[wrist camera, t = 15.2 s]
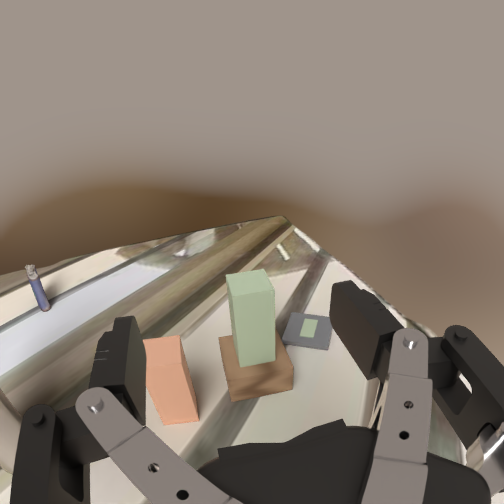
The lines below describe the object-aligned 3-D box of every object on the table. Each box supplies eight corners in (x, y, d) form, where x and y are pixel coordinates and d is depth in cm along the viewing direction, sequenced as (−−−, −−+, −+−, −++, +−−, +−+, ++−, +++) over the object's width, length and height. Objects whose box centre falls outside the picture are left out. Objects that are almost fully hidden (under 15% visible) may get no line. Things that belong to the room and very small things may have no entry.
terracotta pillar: (164, 425, 38) (138, 368, 33) (162, 398, 43) (141, 340, 37) (199, 420, 39) (181, 363, 34) (195, 394, 44) (179, 335, 38)
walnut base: (231, 401, 42) (227, 380, 40) (222, 359, 50) (218, 337, 48) (292, 389, 44) (293, 367, 42) (275, 349, 52) (275, 327, 49)
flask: (52, 309, 63) (36, 269, 59) (41, 314, 62) (25, 274, 57) (45, 293, 70) (31, 256, 65) (36, 298, 68) (21, 261, 63)
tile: (281, 343, 53) (281, 338, 53) (291, 315, 60) (291, 311, 59) (327, 350, 51) (328, 345, 50) (333, 320, 57) (334, 316, 57)
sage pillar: (240, 367, 42) (232, 296, 37) (233, 344, 46) (225, 274, 41) (275, 360, 43) (274, 289, 38) (266, 338, 47) (263, 269, 42)
